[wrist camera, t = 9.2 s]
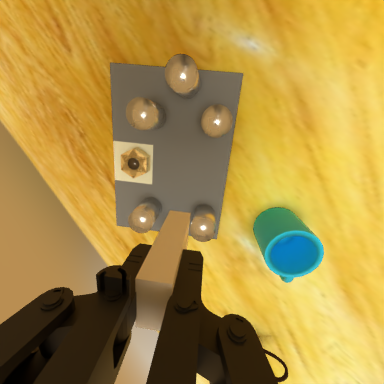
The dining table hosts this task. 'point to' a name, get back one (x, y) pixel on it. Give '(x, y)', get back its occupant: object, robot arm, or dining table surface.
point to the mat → (172, 142)
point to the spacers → (154, 119)
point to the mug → (287, 243)
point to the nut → (135, 162)
